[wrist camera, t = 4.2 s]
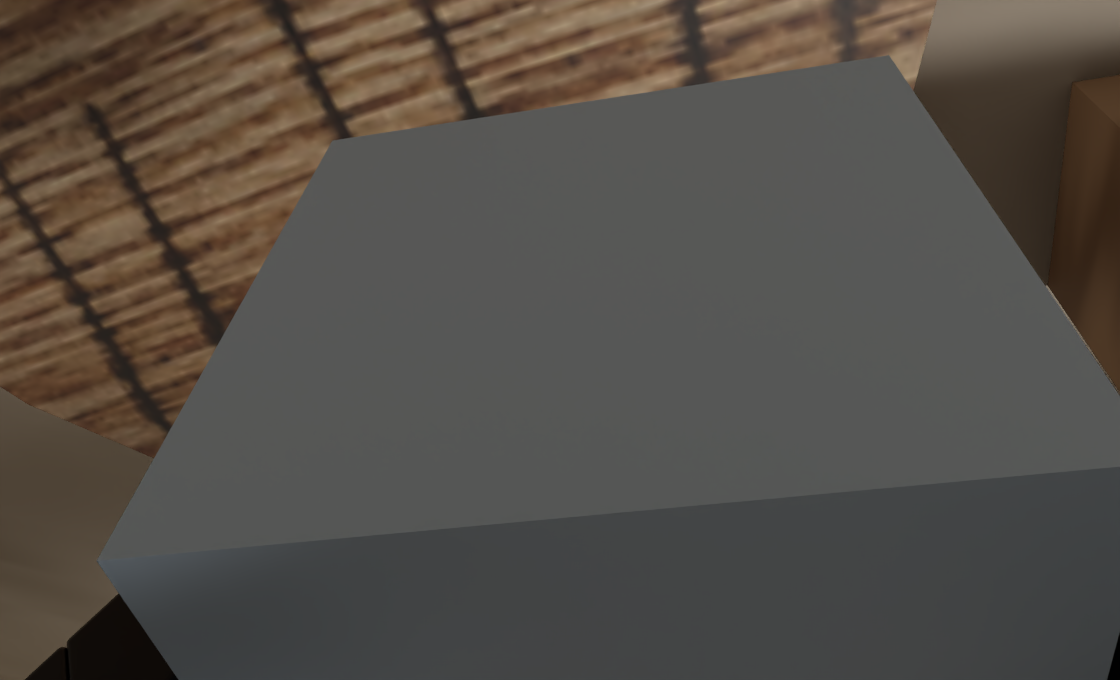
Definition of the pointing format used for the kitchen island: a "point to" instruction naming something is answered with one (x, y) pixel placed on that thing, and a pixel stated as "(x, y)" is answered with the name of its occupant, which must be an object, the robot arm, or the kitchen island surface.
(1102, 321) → the walnut block
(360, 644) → the slate block
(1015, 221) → the kitchen island surface
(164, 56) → the trivet
